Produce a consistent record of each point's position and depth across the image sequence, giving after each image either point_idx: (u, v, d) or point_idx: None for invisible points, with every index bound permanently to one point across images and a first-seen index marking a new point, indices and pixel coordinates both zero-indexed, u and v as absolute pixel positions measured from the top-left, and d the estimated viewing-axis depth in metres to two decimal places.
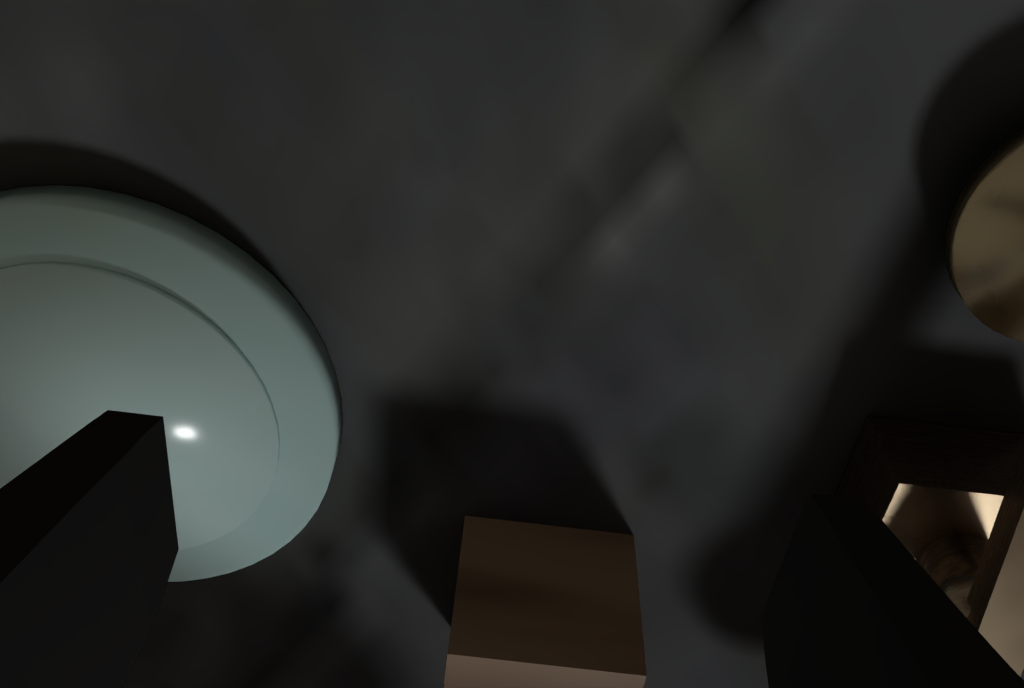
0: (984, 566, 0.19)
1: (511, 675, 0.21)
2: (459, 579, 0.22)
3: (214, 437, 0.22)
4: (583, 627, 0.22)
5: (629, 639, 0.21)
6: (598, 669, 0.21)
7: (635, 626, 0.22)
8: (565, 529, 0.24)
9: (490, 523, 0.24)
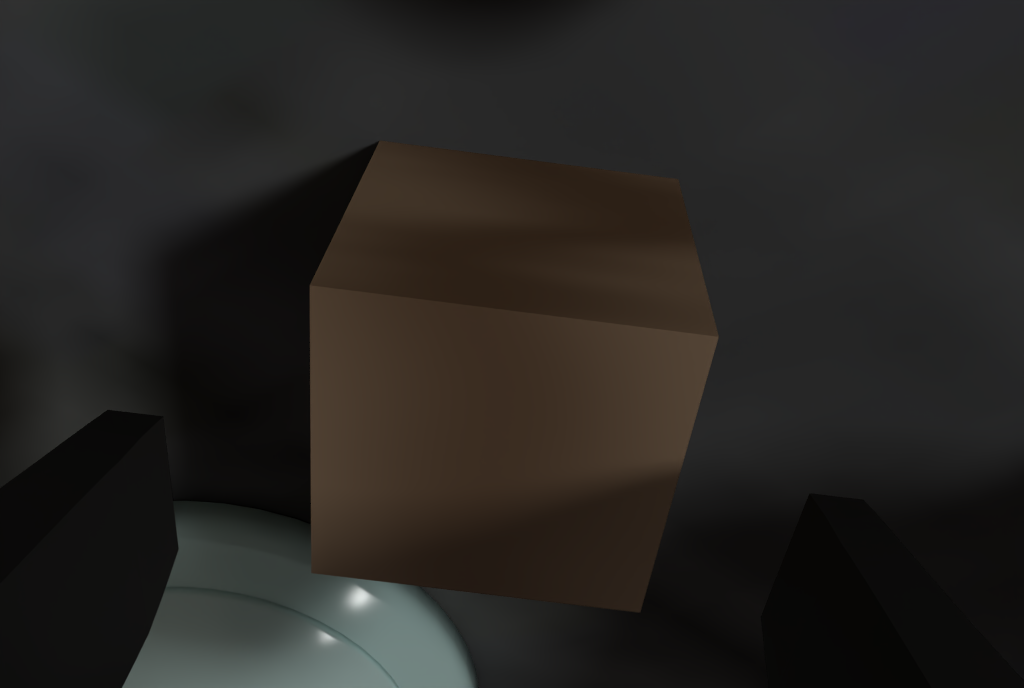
0: None
1: (351, 496, 0.12)
2: None
3: (211, 647, 0.18)
4: None
5: None
6: (310, 365, 0.11)
7: None
8: None
9: None
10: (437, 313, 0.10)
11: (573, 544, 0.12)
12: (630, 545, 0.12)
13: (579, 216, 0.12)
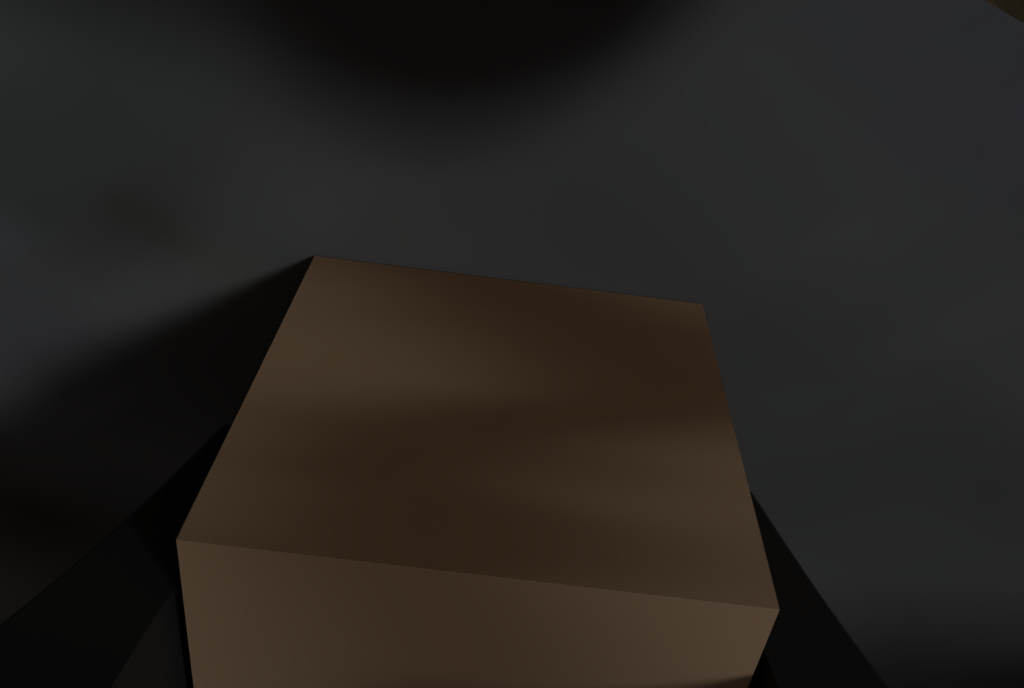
0: None
1: None
2: None
3: None
4: None
5: None
6: (189, 634, 0.07)
7: None
8: None
9: None
10: (366, 577, 0.07)
11: None
12: None
13: (574, 380, 0.09)
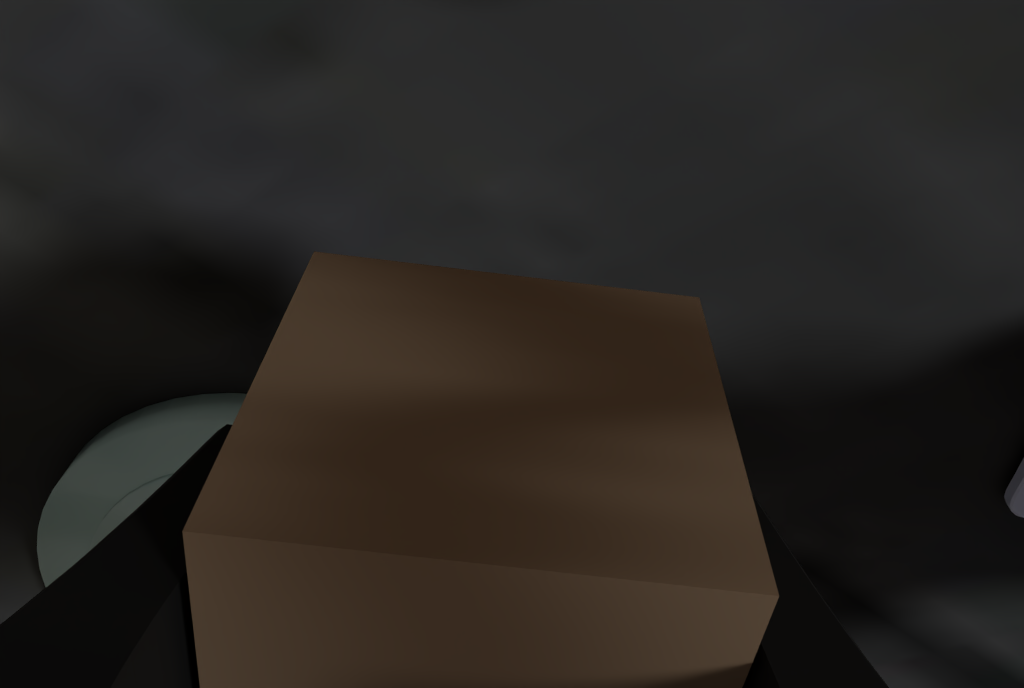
0: None
1: None
2: None
3: None
4: None
5: None
6: (194, 625, 0.07)
7: None
8: None
9: None
10: (370, 567, 0.07)
11: None
12: None
13: (574, 373, 0.09)
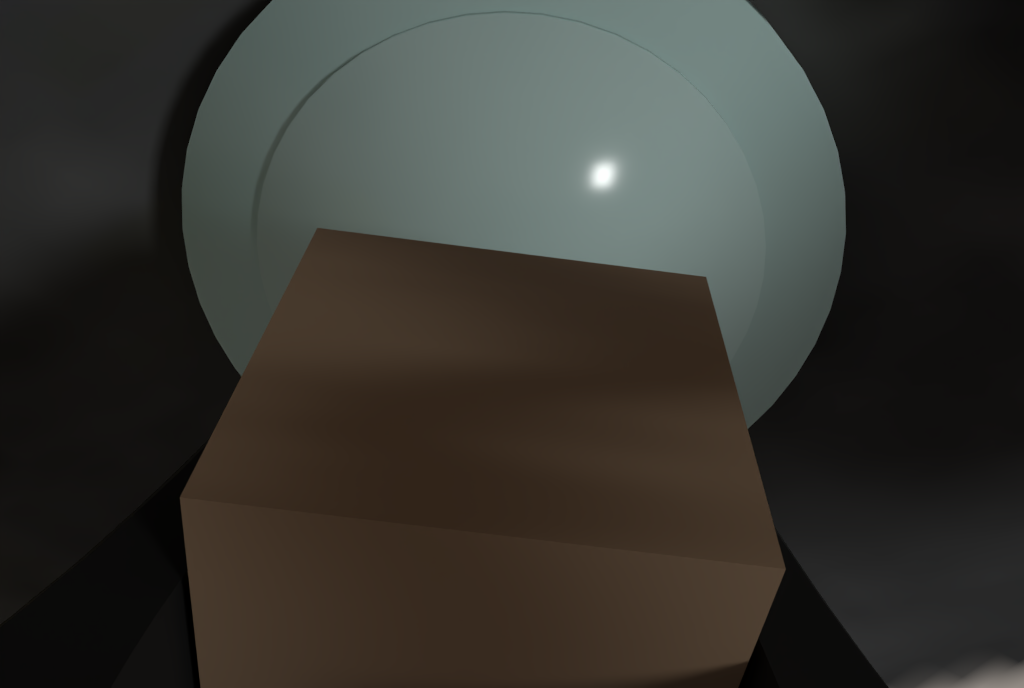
0: None
1: None
2: None
3: (527, 117, 0.14)
4: None
5: None
6: (191, 595, 0.07)
7: None
8: None
9: None
10: (370, 536, 0.07)
11: None
12: None
13: (578, 348, 0.09)
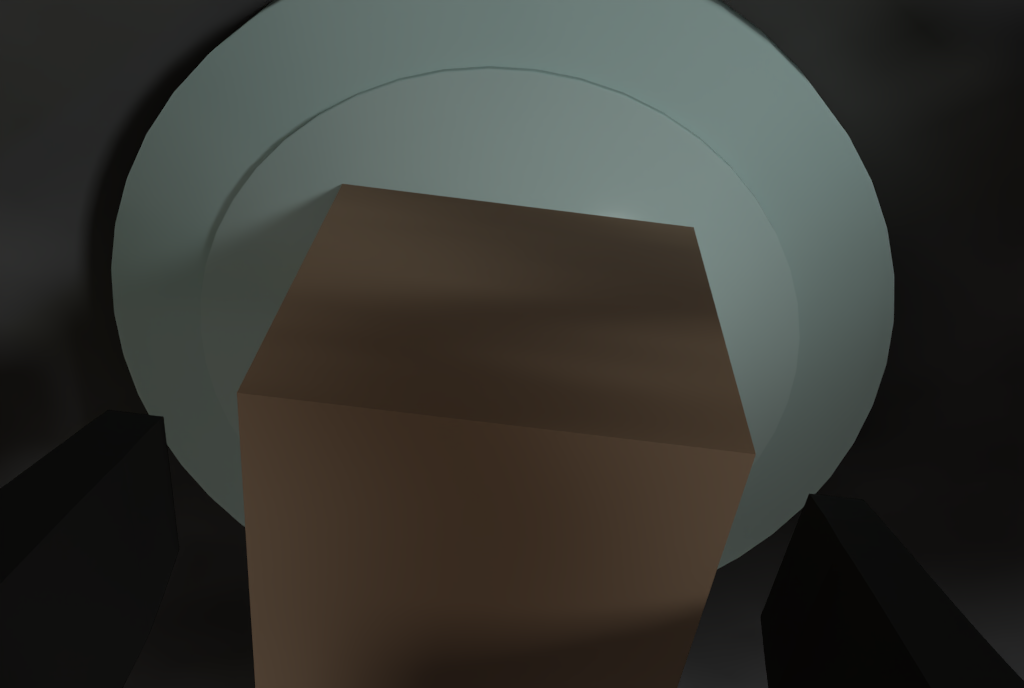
0: None
1: (302, 631, 0.09)
2: None
3: (517, 190, 0.12)
4: None
5: None
6: (244, 486, 0.08)
7: None
8: None
9: None
10: (399, 426, 0.08)
11: (573, 685, 0.10)
12: (642, 687, 0.10)
13: (578, 283, 0.10)
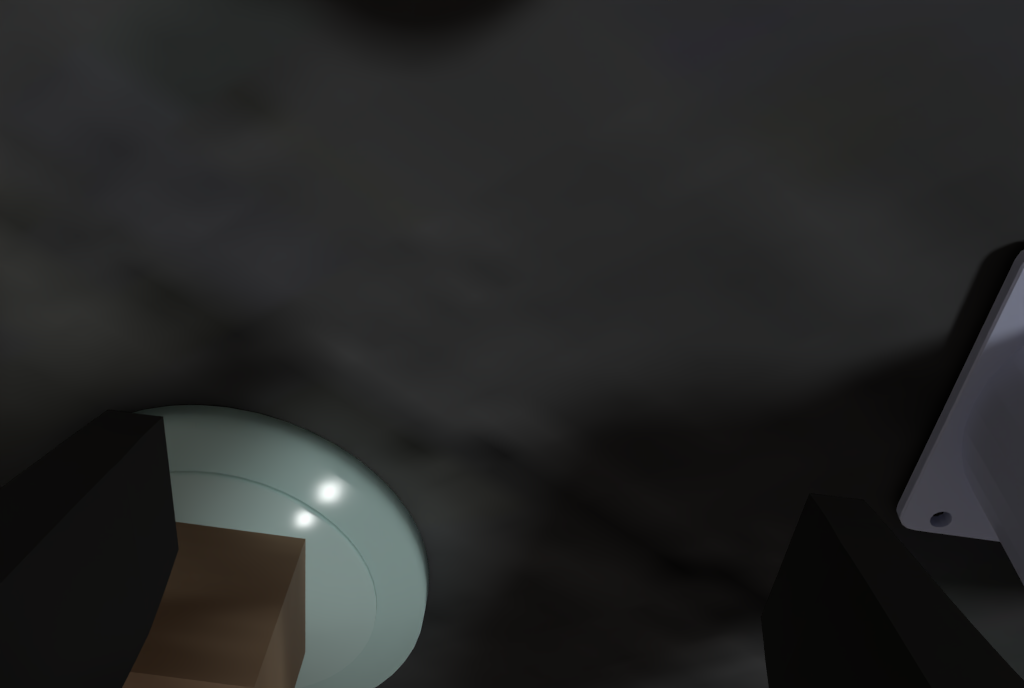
0: None
1: None
2: None
3: (216, 521, 0.23)
4: None
5: None
6: None
7: None
8: None
9: None
10: None
11: None
12: None
13: (223, 585, 0.22)
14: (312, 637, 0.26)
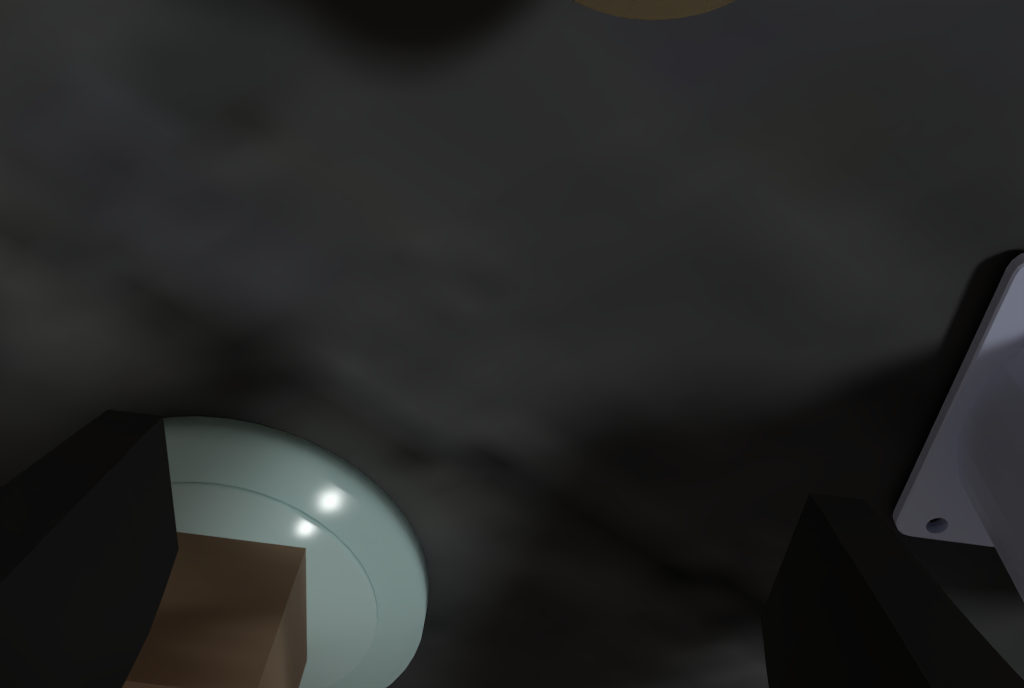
0: None
1: None
2: None
3: (217, 531, 0.24)
4: None
5: None
6: None
7: None
8: None
9: None
10: None
11: None
12: None
13: (225, 595, 0.22)
14: (313, 645, 0.26)
